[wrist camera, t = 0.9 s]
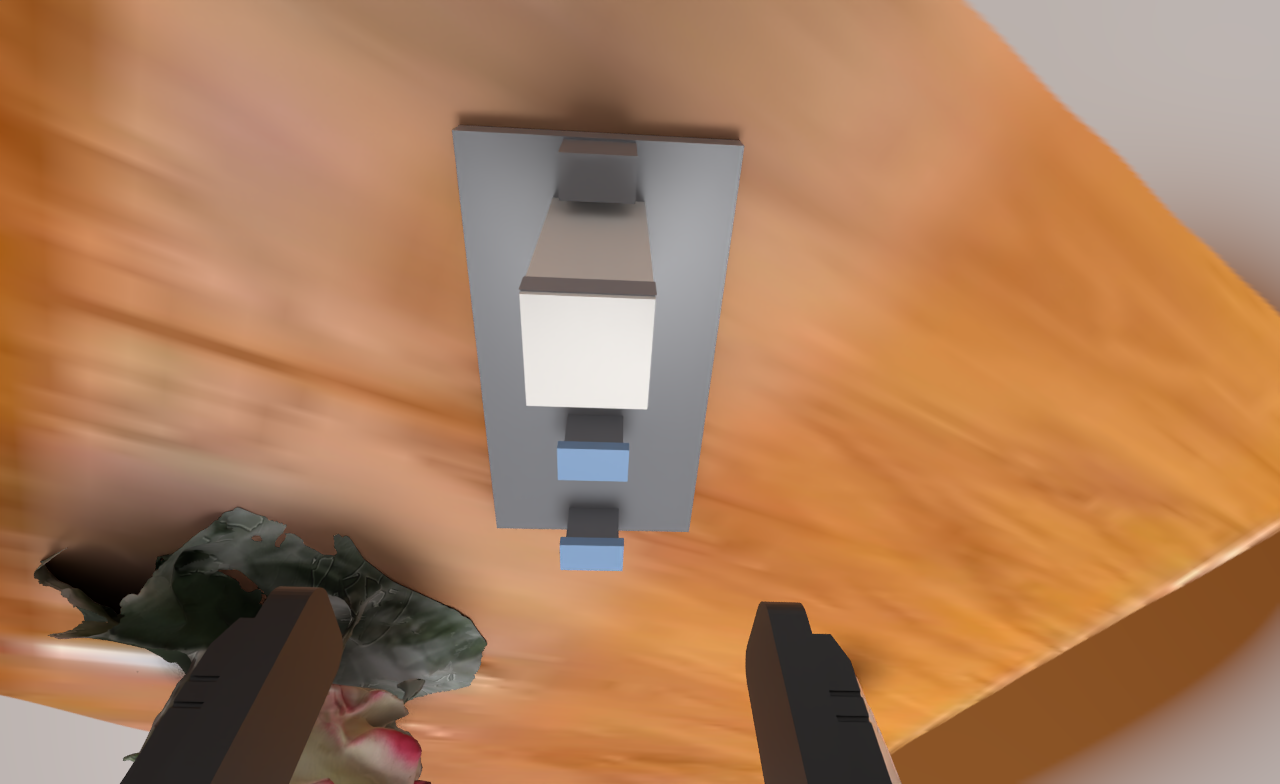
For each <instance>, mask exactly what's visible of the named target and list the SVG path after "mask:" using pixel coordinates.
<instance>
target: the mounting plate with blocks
mask: <svg viewBox="0 0 1280 784" xmlns="http://www.w3.org/2000/svg"><path fill="white" fill-rule="evenodd" d="M452 133H453V142H454V151H455V160H456V169H457V178H458V187H459V195H460V204H461V213H462V222H463V231H464V240H465V249H466V257H467V266H468V275H469V284H470V293H471V302H472V311H473V319H474V328H475V337H476V346H477V355H478V364H479V373H480V381H481V390H482V399H483V408H484V417H485V426H486V435H487V443H488V452H489V461H490V470H491V479H492V488H493V497H494V505H495V514H496V523H497V528H522V529H567V535H566V537H561V539H560V568H561V570H600V571H622V568H623V550H624V538H618V530H622V531H672V532H689V527H690V520H691V513H692V506H693V499H694V492H695V485H696V478H697V471H698V464H699V457H700V450H701V443H702V436H703V429H704V422H705V416H706V409H707V402H708V395H709V388H710V381H711V374H712V367H713V360H714V353H715V346H716V339H717V332H718V325H719V318H720V311H721V305H722V298H723V291H724V284H725V277H726V270H727V263H728V256H729V249H730V242H731V235H732V228H733V221H734V214H735V207H736V200H737V193H738V187H739V180H740V173H741V166H742V159H743V152H744V145H743V144H742V142H741V141H740V140H728V139H710V138H691V137H673V136H654V135H636V134H618V133H599V132H581V131H562V130H544V129H525V128H507V127H489V126H470V125H458V126H457V127H456V128H454V129H453V130H452ZM553 197H555V198H559V201H579V202H600V203H621V204H635V201H638V202H645V207H646V216H647V225H648V234H649V243H650V253H651V262H652V271H653V280H654V282H656V290H657V303H656V316H655V329H654V342H653V355H652V368H651V381H650V394H649V407H647V409H615V408H582V407H550V406H526V399H525V384H524V368H523V352H522V337H521V321H520V305H519V287H520V284H521V281H522V278H523V276H526V273H527V270H528V268H529V265H530V262H531V259H532V256H533V253H534V250H535V247H536V244H537V242H538V239H539V236H540V233H541V230H542V227H543V224H544V221H545V219H546V216H547V213H548V210H549V207H550V204H551V201H552V198H553Z"/></svg>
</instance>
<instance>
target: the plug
mask: <svg viewBox="0 0 1280 784" xmlns="http://www.w3.org/2000/svg"><path fill="white" fill-rule="evenodd" d="M656 303H657V290H656V282H654V280H653V271H652V262H651V253H650V243H649V234H648V225H647V216H646V207H645V202H638V201H635V204H621V203H600V202H579V201H559V198H555V197H553V198H552V201H551V204H550V207H549V210H548V213H547V216H546V219H545V221H544V224H543V227H542V230H541V233H540V236H539V239H538V242H537V244H536V247H535V250H534V253H533V256H532V259H531V262H530V265H529V268H528V270H527V273H526V276H523V278H522V281H521V284H520V287H519V305H520V321H521V337H522V352H523V368H524V384H525V399H526V406H550V407H582V408H615V409H647V407H649V394H650V381H651V368H652V355H653V342H654V329H655V316H656Z"/></svg>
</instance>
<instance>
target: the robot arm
mask: <svg viewBox="0 0 1280 784" xmlns="http://www.w3.org/2000/svg"><path fill="white" fill-rule="evenodd" d="M342 650H343V639H342V634H341V631H340V628H339V626H338V623H337V620H336V617H335V614H334V611H333V608H332V605H331V603H330V600H329V597H328V594H327V592H326V590H325V589H324V588H319V587H283V586H280V587H277V588H275V589H274V590H273V591H272V592H271V593H270V594H269V596H268V597H267V599H266V600H265V602H264V604H263V605H262V607H261V609H260V610H259V612H258V614H257V615H256V617H255V618H239V619H238V620H237V621H236V622H234V623H233V624H232V625H231V626H230V627H229V628H228V629H227V630H225V631H224V632H223V633H222V634H221V635H220V636H219V637H218V638H217V639H215V640H214V641H213V642H212V643H211V644H210V645H209V647H208V648H207V650H206V652H205V653H204V655H203V656H202V658H201V659H200V661H199V662H198V664H197V665H196V667H195V669H194V670H193V672H192V673H191V675H190V680H189V681H188V682H185V684H184V686H183V687H182V689H181V690H180V692H179V693H178V695H177V696H176V698H175V699H174V701H173V702H174V704H173V706H172V708H169V709H168V710H167V712H166V713H165V715H164V717H163V718H162V720H161V721H160V723H159V724H158V726H157V727H156V729H155V730H154V732H153V734H152V735H151V737H150V738H149V740H148V741H147V743H146V744H145V746H144V747H143V749H142V751H141V752H140V754H139V755H138V757H137V758H136V760H135V761H134V763H133V765H132V766H131V768H130V769H129V771H128V772H127V774H126V776H125V777H124V778H123V780H122V782H121V783H120V784H289V783H290V780H291V778H292V776H293V773H294V771H295V769H296V766H297V764H298V762H299V759H300V757H301V755H302V753H303V750H304V748H305V746H306V743H307V741H308V739H309V736H310V734H311V732H312V729H313V727H314V725H315V722H316V720H317V718H318V715H319V713H320V711H321V708H322V706H323V704H324V701H325V699H326V697H327V695H328V692H329V690H330V688H331V685H332V683H333V681H334V678H335V676H336V674H337V671H338V668H339V665H340V661H341V657H342ZM746 679H747V685H748V691H749V697H750V702H751V708H752V714H753V719H754V725H755V731H756V736H757V742H758V748H759V753H760V759H761V765H762V770H763V776H764V782H765V784H892V782H891V779H890V776H889V773H888V770H887V767H886V764H885V761H884V758H883V755H882V752H881V749H880V747H879V744H878V741H877V738H876V735H875V732H874V729H873V726H872V723H871V722H870V721H869V714H868V711H867V708H866V705H865V702H864V699H863V697H861V694H860V692H861V690H860V687H859V684H858V682H857V679H856V676H855V673H854V670H853V667H852V664H851V661H850V659H849V658H848V657H847V655H846V654H845V653H844V651H843V650H842V649H841V647H840V646H839V645H838V643H837V642H836V641H835V639H834V638H833V637H832V636H831V634H812V631H811V628H810V624H809V621H808V618H807V614H806V611H805V609H804V607H803V605H802V604H801V603H794V602H760V604H759V606H758V609H757V613H756V616H755V620H754V623H753V627H752V631H751V634H750V638H749V641H748V645H747V649H746Z"/></svg>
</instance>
